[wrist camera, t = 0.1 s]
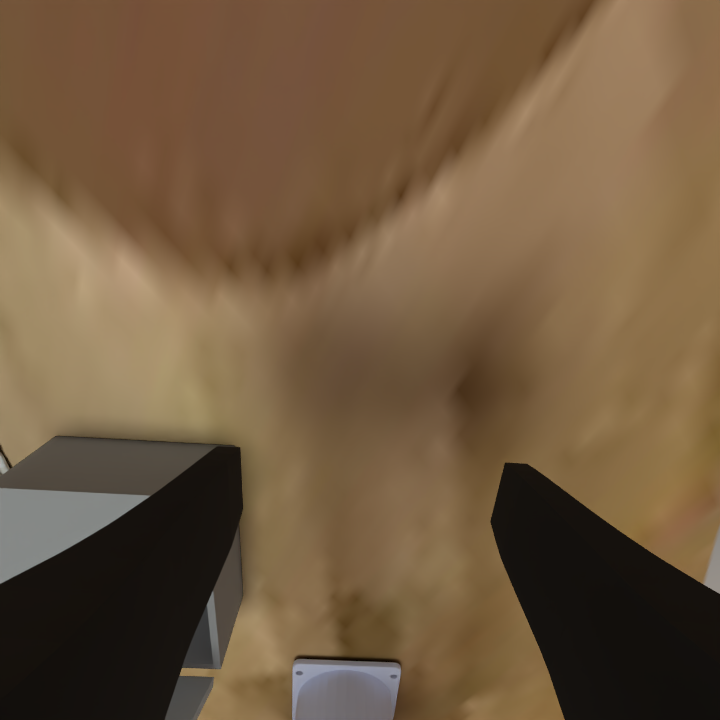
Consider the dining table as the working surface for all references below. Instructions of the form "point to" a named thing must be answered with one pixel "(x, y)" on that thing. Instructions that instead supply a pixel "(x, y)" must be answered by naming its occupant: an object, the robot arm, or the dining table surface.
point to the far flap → (189, 697)
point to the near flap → (51, 523)
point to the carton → (137, 477)
